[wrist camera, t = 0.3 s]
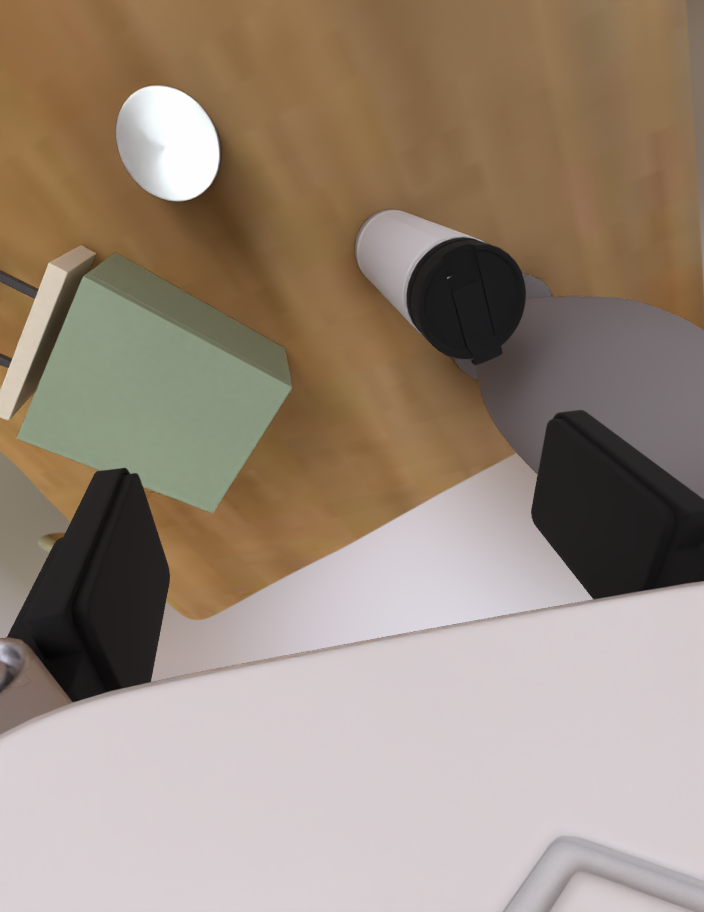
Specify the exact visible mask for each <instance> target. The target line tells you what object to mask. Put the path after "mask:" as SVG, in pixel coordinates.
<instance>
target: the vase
mask: <svg viewBox="0 0 704 912" xmlns="http://www.w3.org/2000/svg"><path fill="white" fill-rule="evenodd" d="M522 275H523V278H524V281H525V288H526V301H525V307H524V312H523V315H522V318H521V320H520V322H519V325H518V327H517V328H516V330H515V331H514V333H513V334H512V336H511V337H510V338H509V339H508V340H507V341H506V342H505V343H504V344H503V345H502V346H501V347H502V352H503V354H501V355H500V356H498V357H496V358H494V359H491V360H489V361H487V362H484V363H482V364H478V365H474V364H473V363H472V362H471V360H473V359H457V358H454V361H455V362H456V364H457V365H458V367H459V368H460V369H462V370H463V371H464V372H465V373H466V374H467V375H468V376H470V377H472V378H474V379H477V380H478V382H479V386H480V391H481V394H482V397H483V401H484V403H485V406H486V408H487V411H488V413H489V415H490V416H491V418H492V420H493V422H494V424H495V425H496V427H497V428H498V430H499V431H500V432H501V434H502V435H503V436H504V438H505V439H506V440H507V442H508V443H509V444H510V445H511V447H512V448H513V449H514V450H515V451H516V453H517V454H518V455H519V456H520V457H521V458H522V459H523V460H524V461H525V462H526V463H527V464H528V465H529V466H530V467H531V468H532V469H533V470H534V471H535V472H536V473H537V474H538V471H539V465H540V459H541V454H542V448H543V443H544V437H545V432H546V426H547V423H548V422H549V420H551V419H553V417H554V416H555V414H557V413H559V412H567V411H574V410H584V411H586V412H587V413H588V414H590V415H591V416H592V417H594V418H595V419H596V420H598V421H599V422H600V423H602V424H603V425H605V426H606V427H607V428H609V429H610V430H611V431H613V432H614V433H615V434H617V435H618V436H619V437H621V438H622V439H623V440H625V441H626V442H627V443H629V444H630V445H631V446H633V447H634V448H635V449H637V450H638V451H639V452H641V453H642V454H643V455H645V456H646V457H648V458H649V459H650V460H652V461H653V462H654V463H656V464H657V465H658V466H660V467H661V468H662V469H664V470H665V471H666V472H668V473H669V474H670V475H672V476H673V477H674V478H676V479H677V480H678V481H680V482H681V483H682V484H684V485H685V486H687V487H688V488H689V489H691V490H692V491H693V492H695V493H696V494H697V495H699V496H700V497H701V498H703V499H704V330H703V329H701V328H699V327H698V326H696V325H694V324H692V323H691V322H689V321H687V320H685V319H683V318H681V317H678V316H676V315H674V314H672V313H669V312H667V311H664V310H662V309H659V308H656V307H653V306H650V305H647V304H644V303H641V302H638V301H633V300H628V299H622V298H609V297H578V296H570V297H552V294H551V291H550V289H549V288H548V286H547V285H546V284H545V283H544V282H543V281H541V280H540V279H538V278H536V277H533V276H530V275H527V274H524V273H522Z"/></svg>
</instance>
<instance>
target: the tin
mask: <svg viewBox="0 0 704 912" xmlns="http://www.w3.org/2000/svg"><path fill="white" fill-rule="evenodd" d="M116 143H117V148H118V152H119V155H120V157H121V160H122V162H123V164H124V166H125V168H126V170H127V171H128V173H129V174H130V176H131V177H132V178H133V179H134V181H135V182H136V183H137V184H138V185H139V186H141V187H142V188H143V189H144V190H145V191H147V192H148V193H150V194H152V195H154V196H156V197H158V198H160V199H163V200H167V201H174V202H182V201H188V200H191V199H194V198H196V197H198V196H200V195H201V194H203V193H204V192H205V191H206V190H207V189H208V188H209V187H210V186H211V184H212V183H213V181H214V179H215V178H216V176H217V174H218V172H219V169H220V166H221V160H222V147H221V141H220V137H219V134H218V132H217V129H216V127H215V125H214V123H213V122H212V120H211V118H210V117H209V115H208V114H207V112H206V111H205V110H204V109H203V107H202V106H201V105H200V104H199V103H198V102H197V101H196V100H195V99H193V98H192V97H191V96H189V95H188V94H186V93H185V92H183V91H181V90H179V89H176V88H174V87H170V86H165V85H152V86H147V87H144V88H141V89H139V90H138V91H136V92H134V93H133V94H132V95H131V96H129V98H128V99H127V100H126V101H125V102H124V104H123V106H122V107H121V110H120V112H119V114H118V118H117V123H116Z"/></svg>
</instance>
